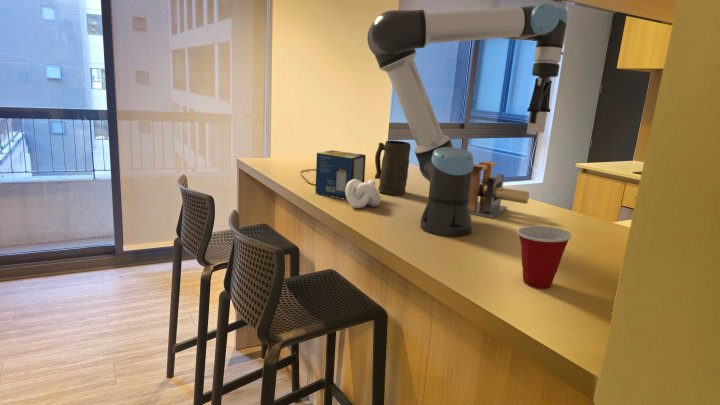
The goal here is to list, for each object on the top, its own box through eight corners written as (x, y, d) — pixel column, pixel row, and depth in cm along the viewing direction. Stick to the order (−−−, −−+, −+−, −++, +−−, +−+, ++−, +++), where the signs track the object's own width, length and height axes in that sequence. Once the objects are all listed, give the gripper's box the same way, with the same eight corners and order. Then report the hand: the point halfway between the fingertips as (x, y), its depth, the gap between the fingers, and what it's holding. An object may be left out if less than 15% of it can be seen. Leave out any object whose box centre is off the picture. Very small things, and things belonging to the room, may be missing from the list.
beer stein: (411, 192, 182) (415, 142, 178) (399, 197, 174) (403, 144, 169) (378, 186, 190) (381, 138, 186) (364, 190, 181) (367, 139, 177)
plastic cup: (509, 270, 107) (516, 220, 104) (559, 278, 104) (568, 227, 101) (510, 288, 97) (518, 234, 94) (565, 297, 94) (575, 242, 91)
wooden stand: (493, 218, 151) (500, 169, 147) (442, 208, 160) (447, 162, 156) (506, 209, 164) (512, 164, 160) (458, 200, 173) (463, 158, 169)
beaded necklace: (310, 188, 182) (310, 184, 182) (296, 172, 215) (296, 168, 214) (355, 188, 188) (356, 184, 187) (335, 172, 220) (336, 168, 220)
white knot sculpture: (352, 211, 150) (353, 184, 148) (338, 202, 161) (339, 177, 158) (383, 209, 155) (384, 183, 152) (368, 201, 165) (369, 176, 163)
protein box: (330, 189, 181) (331, 150, 177) (364, 195, 173) (366, 154, 170) (314, 193, 172) (315, 152, 168) (349, 200, 165) (351, 157, 161)
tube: (525, 205, 151) (527, 192, 150) (455, 193, 163) (456, 181, 162) (528, 203, 154) (530, 190, 153) (459, 191, 166) (461, 179, 165)
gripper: (553, 59, 127) (540, 136, 133) (565, 66, 148) (554, 132, 154) (525, 58, 131) (514, 133, 136) (541, 65, 152) (530, 130, 157)
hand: (535, 133), depth 145 cm, fingers open, 13 cm apart
